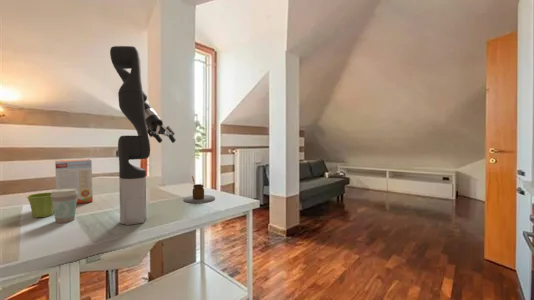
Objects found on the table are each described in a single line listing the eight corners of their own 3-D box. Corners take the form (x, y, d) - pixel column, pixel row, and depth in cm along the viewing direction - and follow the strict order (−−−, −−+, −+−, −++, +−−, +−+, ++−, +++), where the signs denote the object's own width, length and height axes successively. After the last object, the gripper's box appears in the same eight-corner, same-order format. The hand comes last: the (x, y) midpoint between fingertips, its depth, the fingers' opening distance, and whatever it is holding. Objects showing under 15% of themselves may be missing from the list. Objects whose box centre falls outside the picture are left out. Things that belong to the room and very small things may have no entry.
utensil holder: (206, 198, 139) (206, 175, 138) (194, 200, 135) (194, 176, 134) (201, 196, 144) (201, 174, 143) (190, 198, 140) (190, 175, 139)
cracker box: (91, 199, 136) (90, 158, 134) (92, 202, 131) (92, 159, 130) (56, 203, 127) (55, 160, 126) (56, 206, 122) (55, 161, 121)
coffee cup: (45, 222, 100) (44, 191, 99) (68, 216, 108) (67, 187, 108) (61, 225, 98) (61, 193, 97) (84, 218, 106) (83, 188, 105)
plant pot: (22, 217, 106) (21, 195, 105) (49, 211, 115) (48, 191, 114) (35, 220, 102) (34, 198, 102) (62, 214, 111) (61, 193, 110)
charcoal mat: (219, 200, 138) (219, 199, 138) (189, 204, 129) (189, 203, 129) (208, 194, 151) (208, 193, 151) (179, 198, 142) (179, 196, 142)
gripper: (143, 112, 130) (160, 136, 125) (166, 115, 143) (182, 136, 138) (135, 123, 133) (152, 147, 128) (159, 125, 145) (174, 146, 141)
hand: (167, 141), depth 133 cm, fingers open, 8 cm apart
